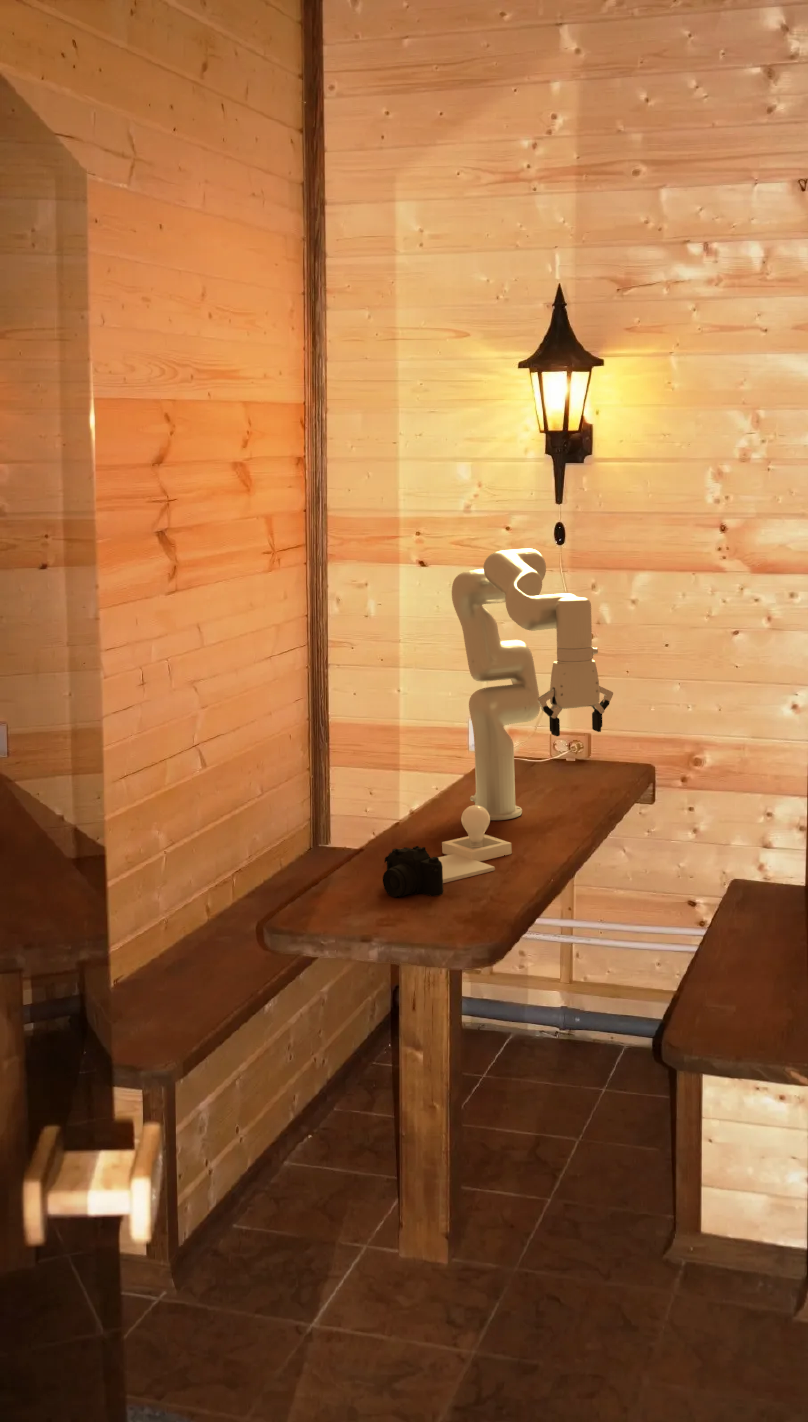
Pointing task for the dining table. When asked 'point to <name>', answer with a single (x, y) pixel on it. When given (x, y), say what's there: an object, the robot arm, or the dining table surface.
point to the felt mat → (461, 867)
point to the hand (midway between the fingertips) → (576, 733)
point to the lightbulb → (475, 824)
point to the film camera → (413, 873)
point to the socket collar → (488, 851)
